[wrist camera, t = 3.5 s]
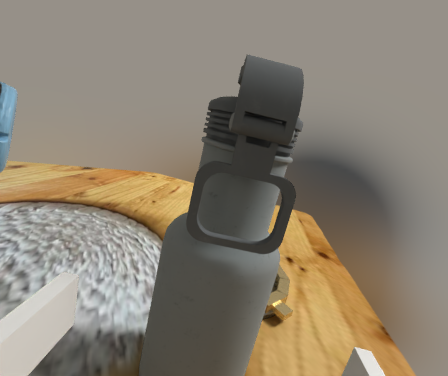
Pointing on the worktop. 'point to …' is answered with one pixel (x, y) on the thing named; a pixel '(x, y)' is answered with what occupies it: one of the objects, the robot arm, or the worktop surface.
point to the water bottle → (227, 231)
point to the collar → (279, 297)
